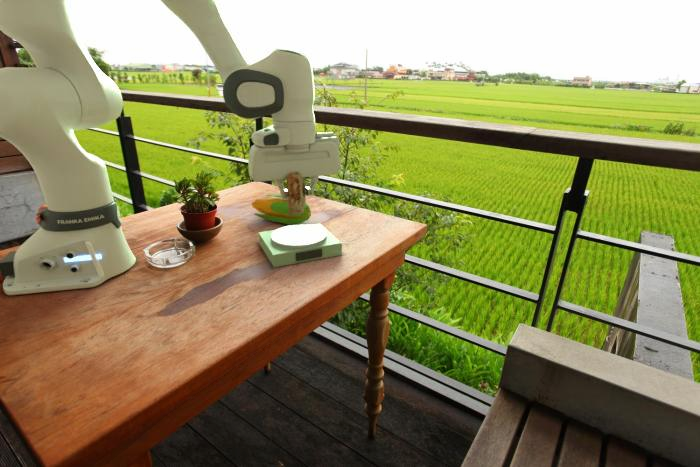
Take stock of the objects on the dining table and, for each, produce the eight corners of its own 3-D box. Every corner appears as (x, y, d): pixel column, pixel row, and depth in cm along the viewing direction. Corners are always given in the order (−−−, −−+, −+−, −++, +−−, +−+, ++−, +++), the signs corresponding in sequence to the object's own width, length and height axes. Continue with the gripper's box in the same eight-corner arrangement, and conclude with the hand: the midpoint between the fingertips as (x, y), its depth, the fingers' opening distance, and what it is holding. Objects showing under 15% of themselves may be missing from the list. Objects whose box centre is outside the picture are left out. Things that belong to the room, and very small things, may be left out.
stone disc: (303, 220, 84) (301, 174, 80) (285, 220, 84) (283, 174, 80) (307, 205, 93) (306, 164, 90) (292, 205, 93) (290, 164, 89)
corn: (301, 202, 100) (241, 192, 109) (301, 230, 103) (242, 218, 111) (316, 197, 107) (258, 188, 115) (316, 223, 109) (259, 212, 117)
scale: (274, 268, 83) (273, 252, 81) (259, 243, 95) (257, 229, 93) (342, 255, 89) (342, 240, 88) (320, 233, 101) (319, 220, 100)
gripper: (333, 130, 89) (334, 188, 94) (243, 134, 81) (249, 198, 86) (345, 133, 84) (345, 195, 89) (249, 138, 75) (255, 206, 81)
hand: (297, 196), depth 87 cm, fingers closed on stone disc, 4 cm apart
